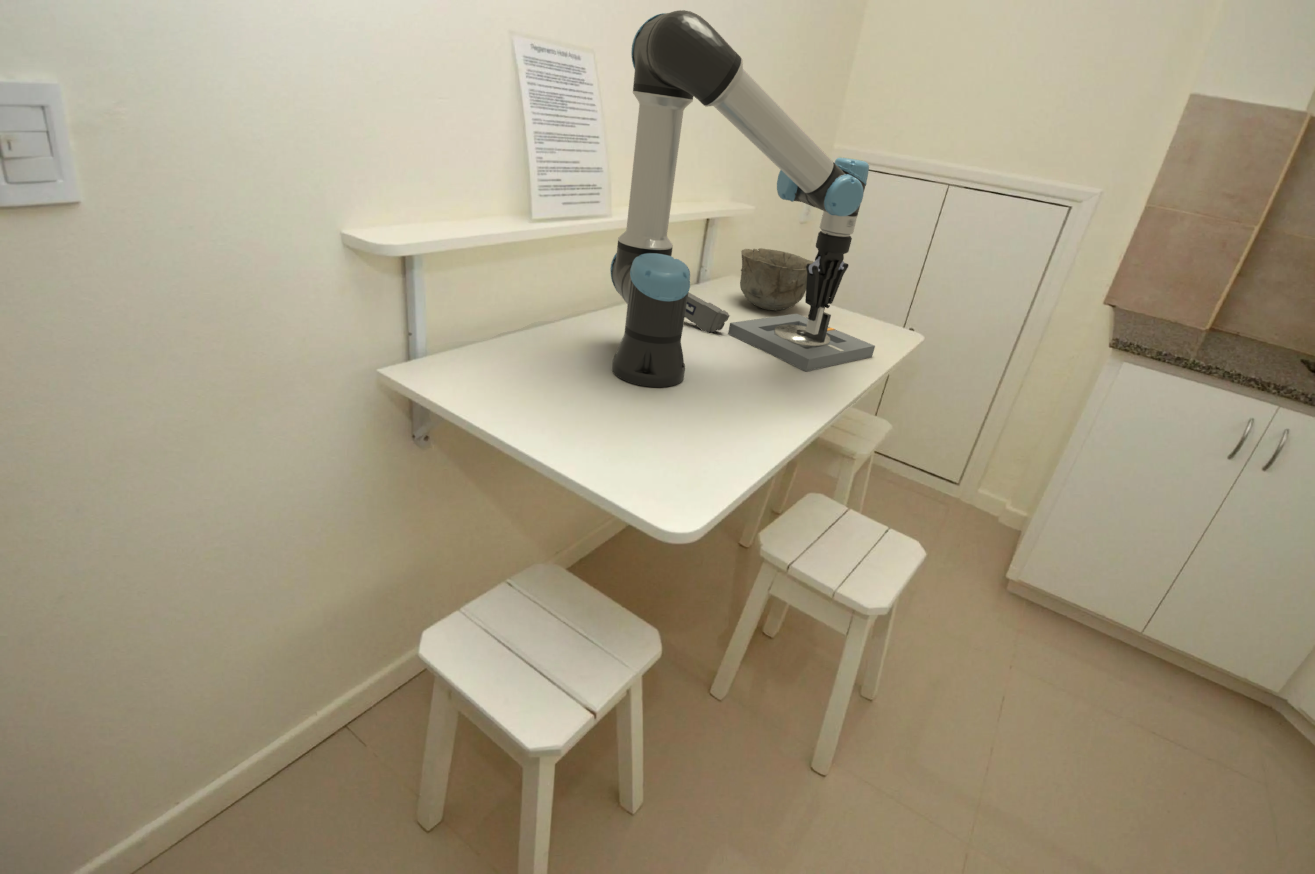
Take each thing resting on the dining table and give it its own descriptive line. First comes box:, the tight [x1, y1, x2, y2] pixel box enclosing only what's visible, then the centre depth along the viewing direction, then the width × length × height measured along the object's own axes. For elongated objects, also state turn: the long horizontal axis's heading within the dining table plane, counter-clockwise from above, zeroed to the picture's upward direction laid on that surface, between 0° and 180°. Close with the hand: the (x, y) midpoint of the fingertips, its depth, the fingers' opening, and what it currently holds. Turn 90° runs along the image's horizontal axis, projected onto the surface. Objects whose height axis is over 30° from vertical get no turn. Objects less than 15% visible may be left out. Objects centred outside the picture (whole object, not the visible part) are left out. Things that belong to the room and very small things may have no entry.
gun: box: [684, 292, 731, 333], centre depth 170 cm, size 3×25×15 cm, turn 61°
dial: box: [774, 311, 832, 349], centre depth 164 cm, size 14×14×8 cm
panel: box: [727, 313, 876, 372], centre depth 166 cm, size 26×26×3 cm
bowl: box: [739, 247, 814, 311], centre depth 191 cm, size 22×22×15 cm
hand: (811, 332), depth 159 cm, fingers closed
